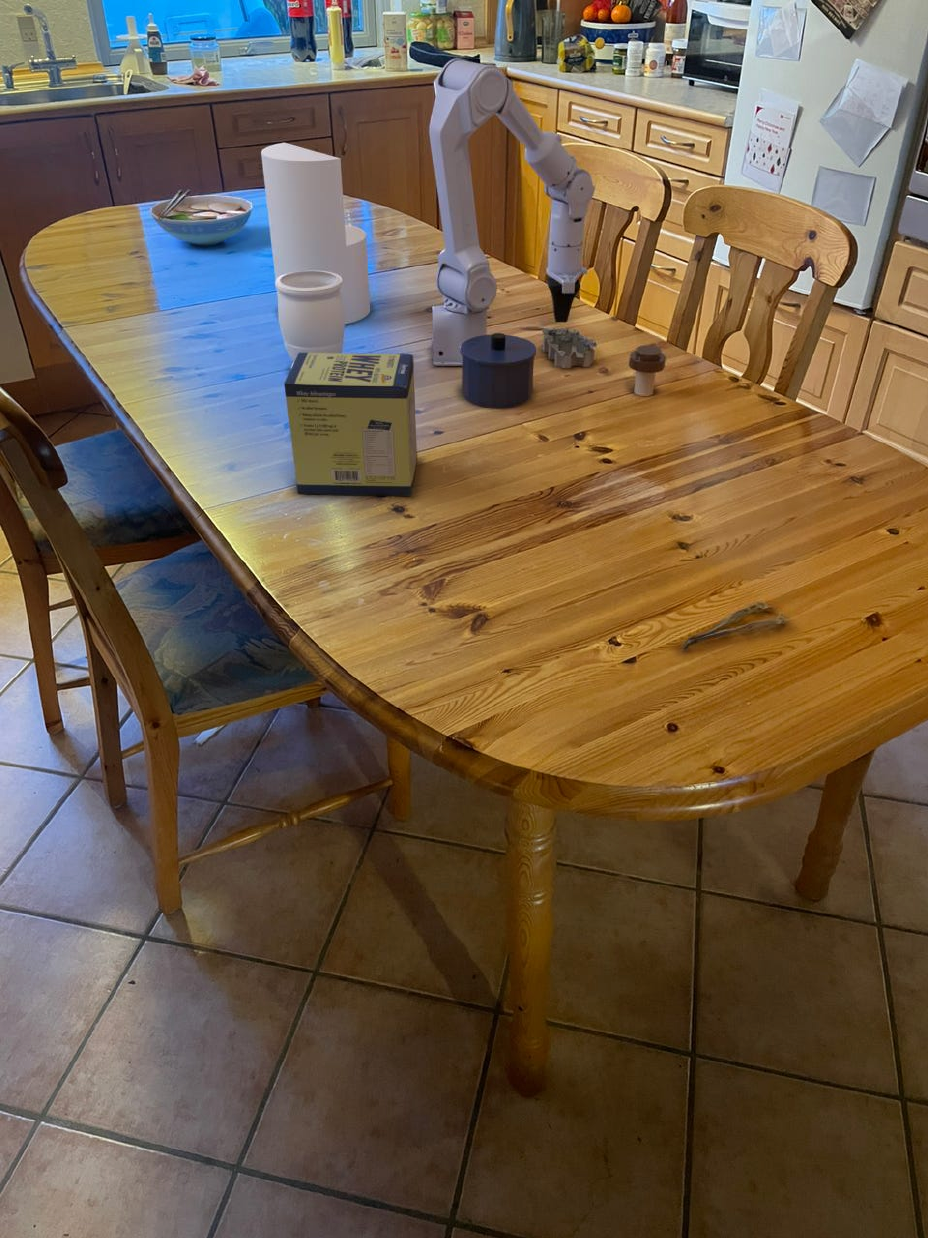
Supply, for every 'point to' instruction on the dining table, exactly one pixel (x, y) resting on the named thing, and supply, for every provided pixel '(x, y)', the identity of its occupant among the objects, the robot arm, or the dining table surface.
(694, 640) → the tongs
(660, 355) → the mushroom
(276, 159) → the cylinder
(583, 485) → the dining table surface
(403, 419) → the protein box
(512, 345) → the pot lid
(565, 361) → the egg carton
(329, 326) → the jar
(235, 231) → the ramen bowl
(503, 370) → the pot
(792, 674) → the dining table surface
